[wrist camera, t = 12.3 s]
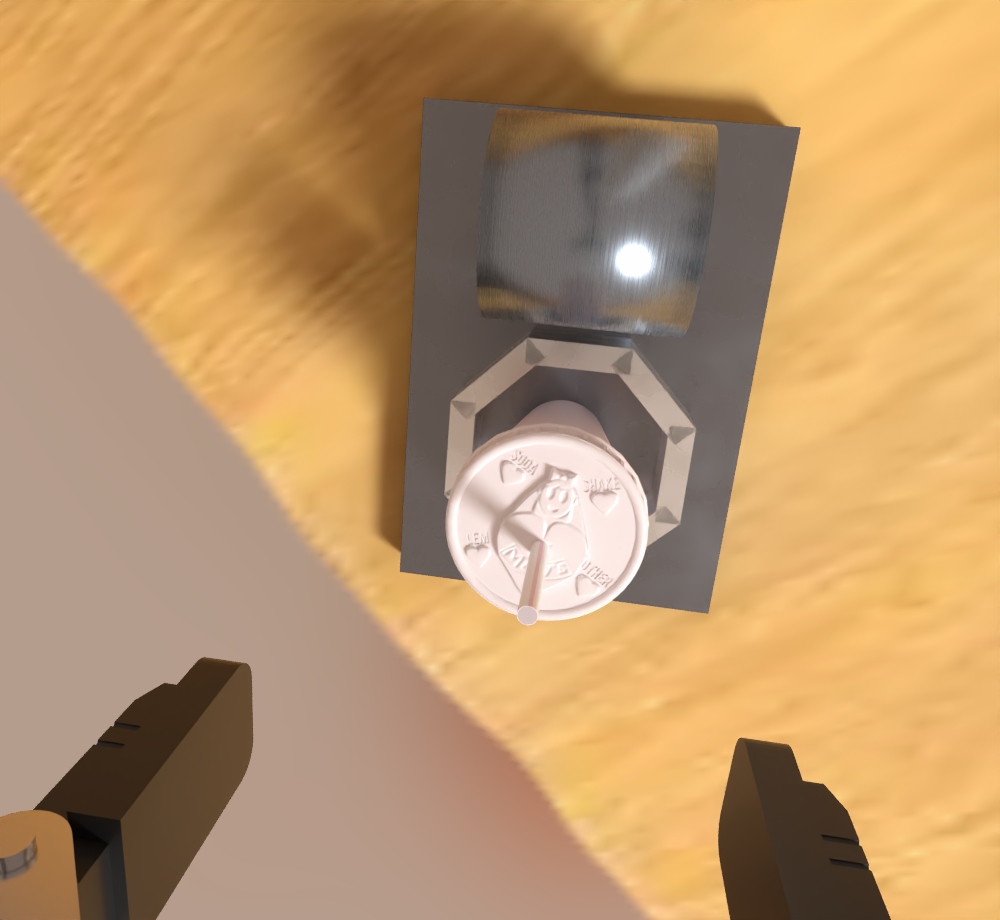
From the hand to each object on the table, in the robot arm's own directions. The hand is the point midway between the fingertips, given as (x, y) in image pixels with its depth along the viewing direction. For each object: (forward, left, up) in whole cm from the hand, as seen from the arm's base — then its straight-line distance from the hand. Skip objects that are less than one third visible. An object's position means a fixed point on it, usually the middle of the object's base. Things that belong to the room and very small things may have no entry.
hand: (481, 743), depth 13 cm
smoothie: (+1, 0, -22) cm, 22 cm away
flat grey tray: (-2, +1, -23) cm, 23 cm away
